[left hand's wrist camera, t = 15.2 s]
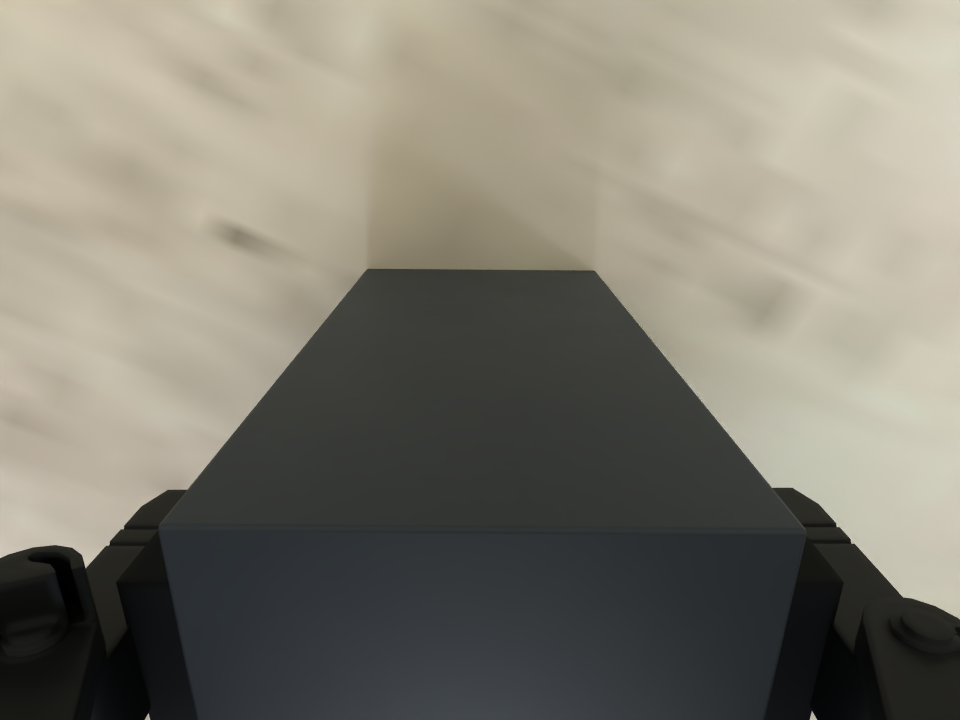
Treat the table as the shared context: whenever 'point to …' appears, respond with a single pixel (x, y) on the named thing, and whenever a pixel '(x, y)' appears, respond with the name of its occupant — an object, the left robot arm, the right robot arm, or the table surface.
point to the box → (481, 522)
